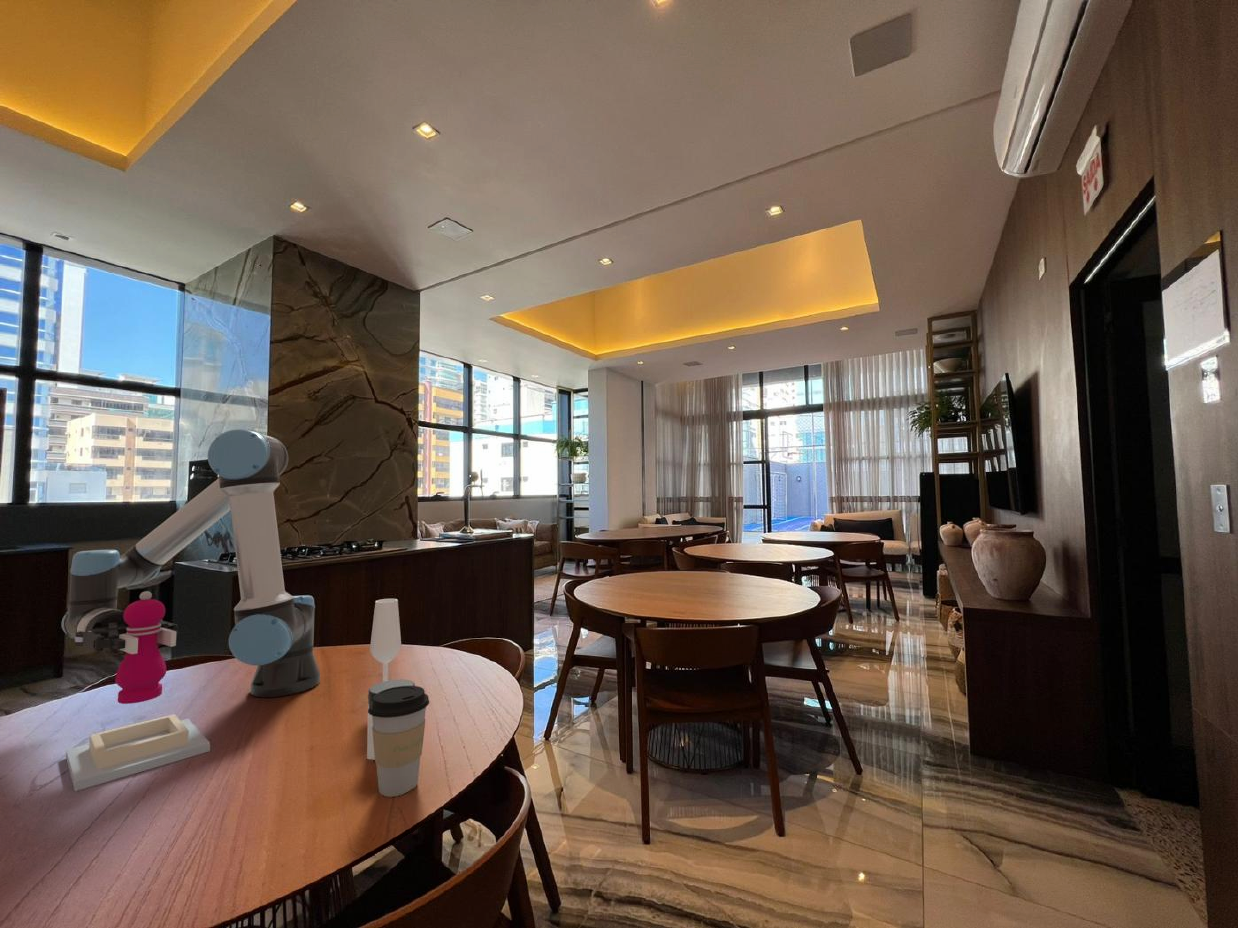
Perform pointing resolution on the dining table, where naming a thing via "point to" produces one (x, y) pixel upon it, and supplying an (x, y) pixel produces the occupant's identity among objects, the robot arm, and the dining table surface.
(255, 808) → the dining table surface
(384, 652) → the champagne flute
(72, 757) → the board
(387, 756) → the coffee cup
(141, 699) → the pepper mill
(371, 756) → the jar
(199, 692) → the dining table surface
